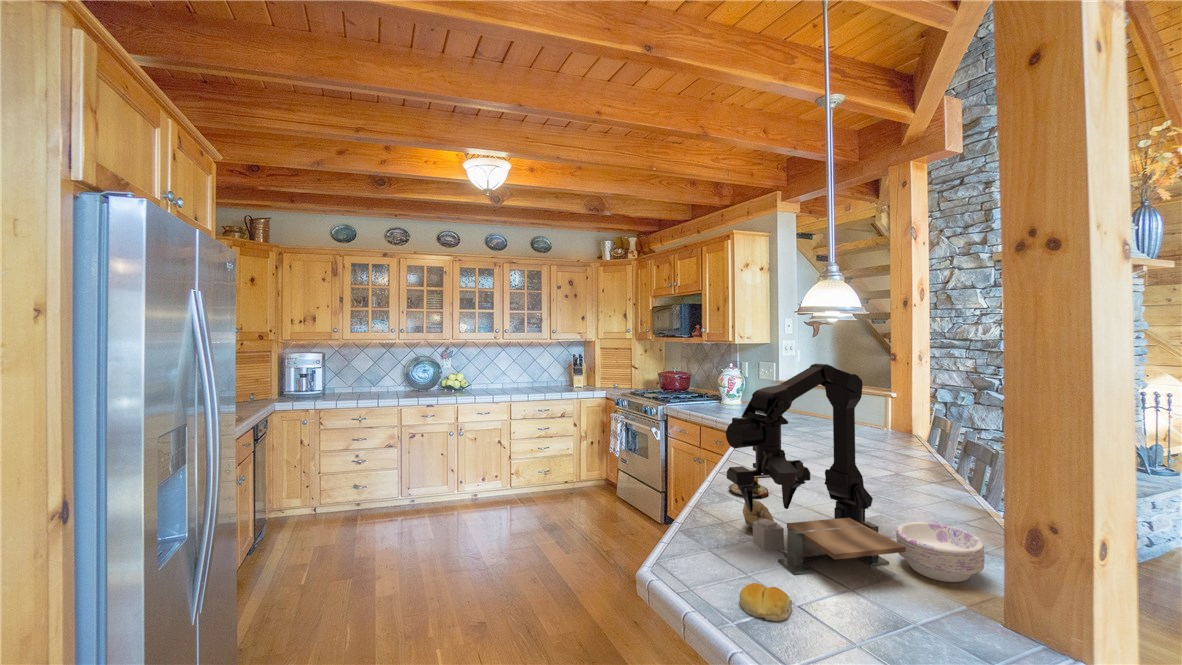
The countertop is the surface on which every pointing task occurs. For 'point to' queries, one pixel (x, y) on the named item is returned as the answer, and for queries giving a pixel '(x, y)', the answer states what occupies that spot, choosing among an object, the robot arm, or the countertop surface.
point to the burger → (756, 491)
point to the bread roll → (765, 602)
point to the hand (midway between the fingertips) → (768, 510)
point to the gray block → (768, 535)
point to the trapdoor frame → (795, 555)
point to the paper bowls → (941, 551)
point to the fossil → (756, 513)
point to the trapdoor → (843, 539)
